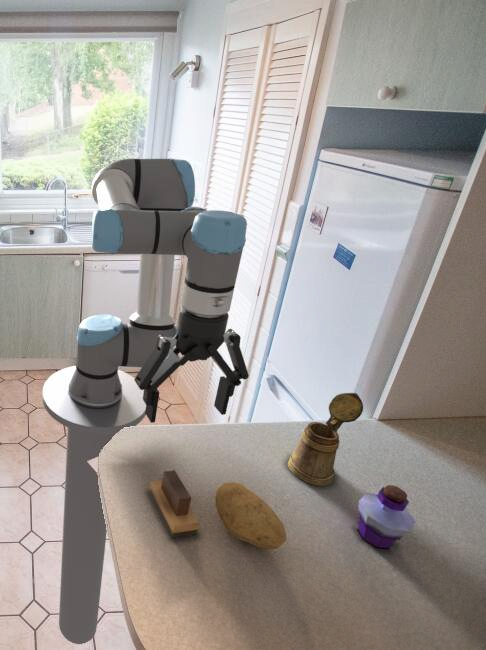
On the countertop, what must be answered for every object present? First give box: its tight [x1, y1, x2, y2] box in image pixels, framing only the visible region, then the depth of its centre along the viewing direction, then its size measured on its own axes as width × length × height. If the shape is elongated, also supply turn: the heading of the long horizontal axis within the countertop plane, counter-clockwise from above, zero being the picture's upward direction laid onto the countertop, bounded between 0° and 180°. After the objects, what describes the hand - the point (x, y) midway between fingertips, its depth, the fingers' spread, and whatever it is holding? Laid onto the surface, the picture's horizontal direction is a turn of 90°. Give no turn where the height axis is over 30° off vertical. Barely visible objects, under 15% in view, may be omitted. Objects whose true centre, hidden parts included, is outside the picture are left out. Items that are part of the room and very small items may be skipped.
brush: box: [148, 469, 200, 540], centre depth 89 cm, size 11×5×8 cm, turn 9°
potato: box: [214, 481, 288, 550], centre depth 85 cm, size 10×14×8 cm
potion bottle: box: [357, 484, 417, 551], centre depth 84 cm, size 9×9×12 cm
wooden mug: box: [287, 392, 364, 486], centre depth 99 cm, size 9×14×18 cm, turn 118°
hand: (185, 414), depth 82 cm, fingers open, 13 cm apart
